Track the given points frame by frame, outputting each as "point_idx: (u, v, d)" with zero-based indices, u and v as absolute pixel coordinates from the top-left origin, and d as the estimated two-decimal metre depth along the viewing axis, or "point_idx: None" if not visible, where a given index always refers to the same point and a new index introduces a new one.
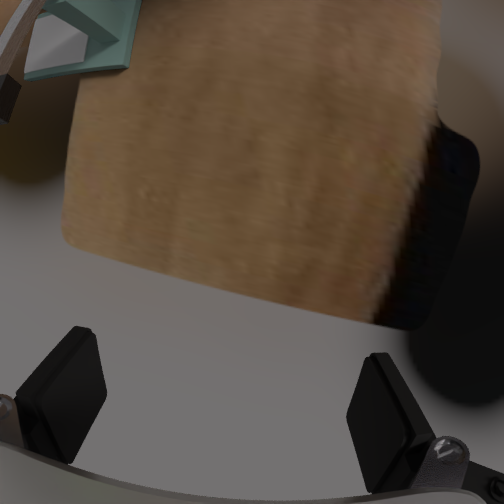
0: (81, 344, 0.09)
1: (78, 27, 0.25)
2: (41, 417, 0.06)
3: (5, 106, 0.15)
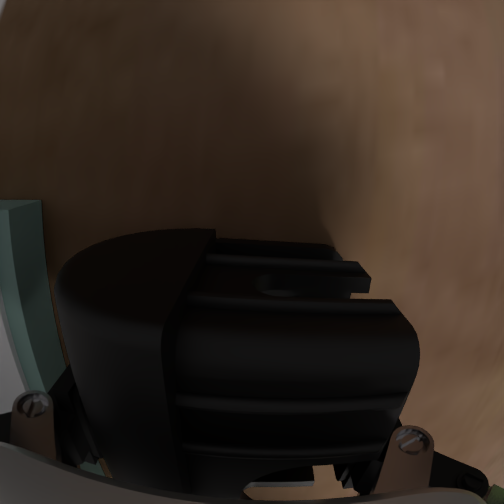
0: None
1: None
2: (77, 411, 0.07)
3: None
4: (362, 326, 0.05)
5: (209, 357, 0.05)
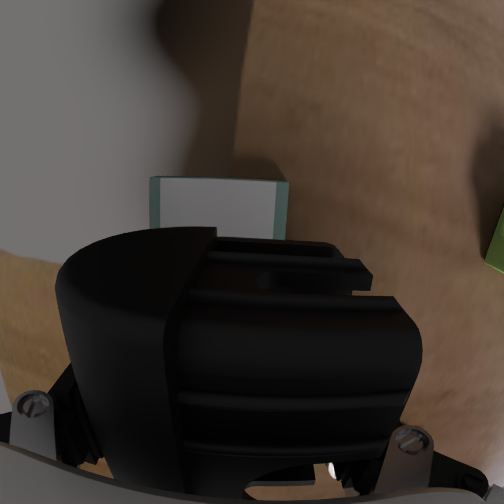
0: None
1: None
2: (78, 411, 0.07)
3: None
4: (364, 323, 0.05)
5: (212, 353, 0.05)
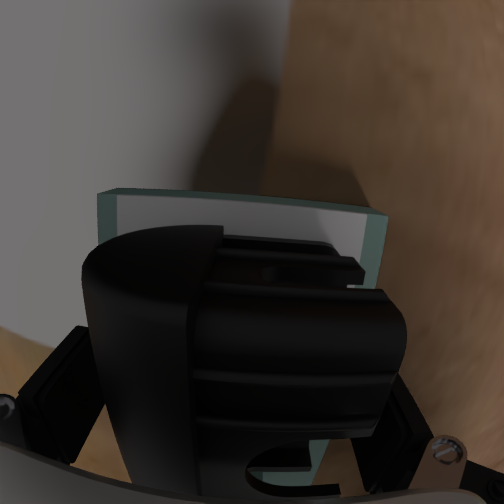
0: (83, 344, 0.09)
1: None
2: (44, 417, 0.06)
3: None
4: (356, 310, 0.06)
5: (225, 334, 0.06)
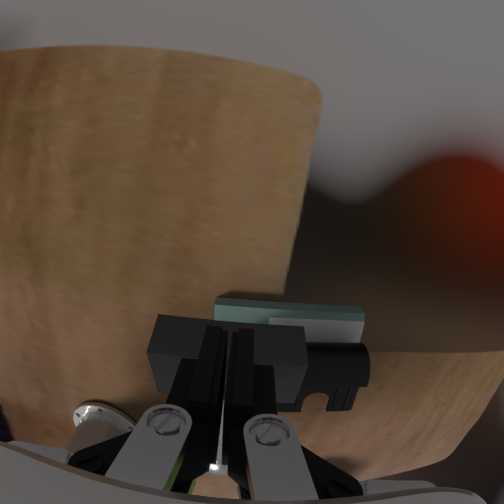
0: (224, 342, 0.10)
1: None
2: (210, 420, 0.07)
3: None
4: None
5: (357, 386, 0.30)
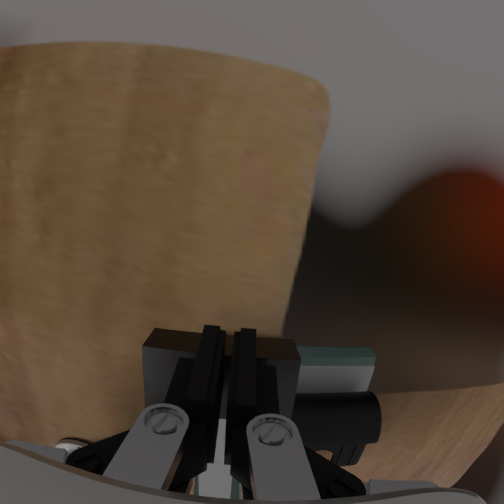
0: (221, 342, 0.10)
1: None
2: (207, 419, 0.07)
3: None
4: None
5: None
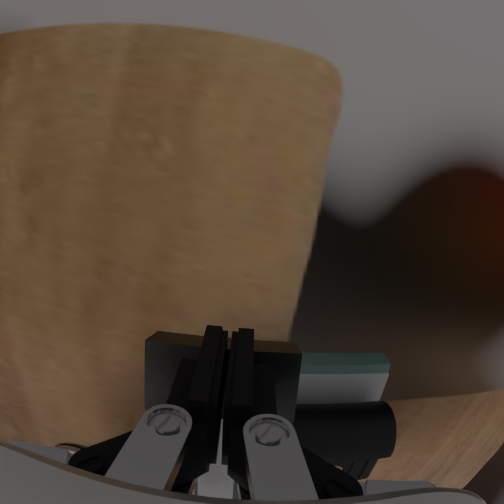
0: (224, 342, 0.10)
1: None
2: (210, 420, 0.07)
3: None
4: None
5: None
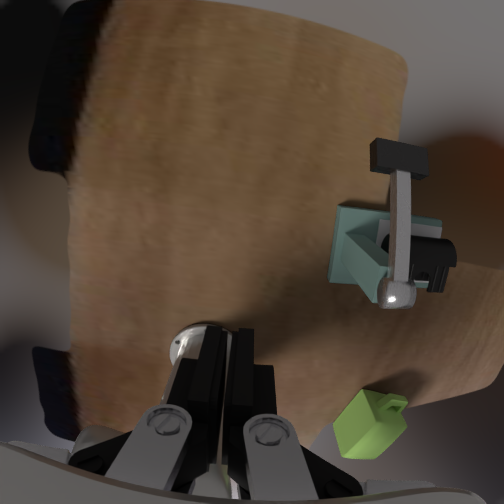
0: (224, 342, 0.10)
1: (378, 247, 0.37)
2: (210, 420, 0.07)
3: (373, 149, 0.30)
4: None
5: (448, 268, 0.38)
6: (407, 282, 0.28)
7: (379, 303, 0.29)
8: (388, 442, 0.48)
